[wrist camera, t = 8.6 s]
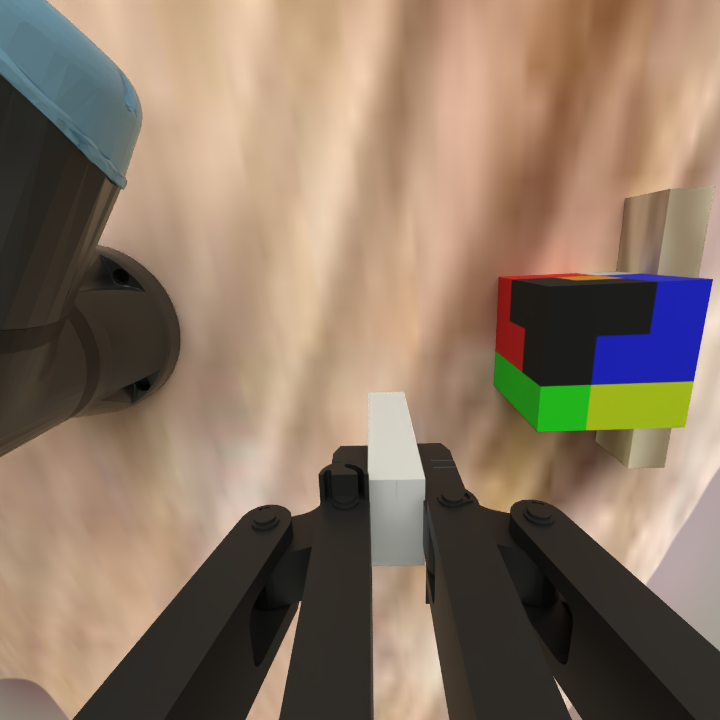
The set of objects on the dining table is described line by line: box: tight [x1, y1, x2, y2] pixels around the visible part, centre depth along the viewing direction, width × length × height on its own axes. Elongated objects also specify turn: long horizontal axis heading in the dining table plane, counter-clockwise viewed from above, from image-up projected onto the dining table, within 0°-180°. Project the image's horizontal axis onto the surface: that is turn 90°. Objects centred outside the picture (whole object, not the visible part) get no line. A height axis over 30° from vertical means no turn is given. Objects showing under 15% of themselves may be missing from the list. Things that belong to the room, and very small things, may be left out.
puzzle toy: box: [494, 272, 713, 432], centre depth 31 cm, size 10×10×10 cm
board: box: [595, 187, 715, 469], centre depth 33 cm, size 3×22×5 cm, turn 3°
